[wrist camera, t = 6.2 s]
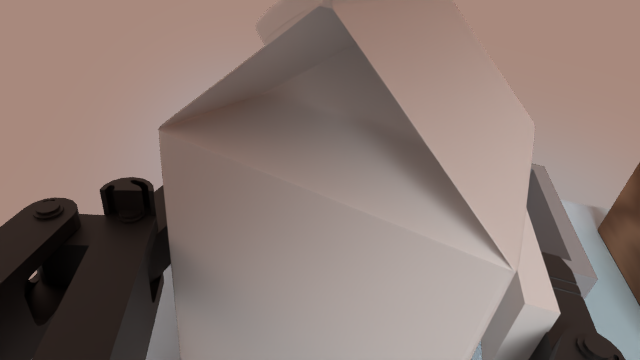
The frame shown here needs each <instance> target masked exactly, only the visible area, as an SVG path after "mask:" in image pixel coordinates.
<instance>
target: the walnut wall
mask: <svg viewBox="0 0 640 360" xmlns="http://www.w3.org/2000/svg"><path fill="white" fill-rule="evenodd" d="M598 232H599V233H600V235H601V237H602V239H603V241H604V242H605V244H606V246H607V248H608V250H609V251H610V253H611V255H612V257H613V258H614V260H615V262H616V264H617V266H618V267H619V269H620V271H621V273H622V274H623V276H624V278H625V280H626V282H627V283H628V285H629V287H630V289H631V290H632V292H633V294H634V296H635V298H636V299H637V301H638V303H639V305H640V163H639V165H638V166H637V167H636V169H635V171H634V172H633V174H632V176H631V177H630V179H629V180H628V182H627V183H626V185H625V187H624V188H623V190H622V191H621V193H620V195H619V196H618V198H617V199H616V201H615V203H614V204H613V206H612V208H611V209H610V211H609V212H608V214H607V215H606V217H605V219H604V220H603V222H602V223H601V225H600V227H599V228H598Z"/></svg>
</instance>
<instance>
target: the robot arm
mask: <svg viewBox="0 0 640 360" xmlns="http://www.w3.org/2000/svg"><path fill="white" fill-rule="evenodd" d="M100 194H101V199H102V204H103V209H104V214H105V215H88V214H79V212H78V209H77V204H76V203H75V202H73V201H72V200H69V199H66V198H50V199H43V200H41V201H37V202H35V203H32V204H31V205H29V206H27V207H26V208H24V209H23V210H21V211H20V212H19V213H18V214H16V215H15V216H14V217H13V218H11V219H10V220H9V221H7V222H6V223H5V224H4V225H3V226H1V227H0V360H31V359H32V360H145V359H146V355H147V351H148V347H149V343H150V338H151V334H152V330H153V326H154V322H155V317H156V313H157V309H158V305H159V301H160V297H161V292H162V288H163V284H164V276H163V272H164V271H165V269H166V268H167V267H168V266H169V265H170V264H171V258H170V248H169V238H168V227H167V217H166V207H165V197H164V187H163V186H161V187H160V188H159V189H158V190H156V191H155V192H154V189H153V185H152V184H151V183H150V182H149V181H147V180H145V179H141V178H134V177H130V178H121V179H117V180H113V181H111V182H109V183H107V184H105V185H104V186H103V187H102V188H101V189H100ZM36 270H37V274H36V275H35V276H34V277H33V278H32V279H30V280H28V279H29V278H30V276H31V275H32V274H33V273H34V272H35V271H36ZM481 350H482V360H625V358H624V357H623V355H622V353H621V352H620V351H619V350H618V349H617V348H616V347H615V346H614V345H613V344H612V343H611V342H610V341H609V340H607V339H606V338H604V337H603V336H601V335H600V334H598V333H597V331H596V329H595V326H594V324H593V321H592V319H591V316H590V314H589V311H588V309H587V306H586V304H585V301H584V299H583V297H582V296H581V292H580V289H579V287H578V285H577V282H576V279H575V277H574V274H573V272H572V270H571V268H570V267H569V266H568V265H567V264H566V263H565V262H564V261H563V260H562V258H561V257H560V256H556V255H553V254H549V253H545V252H541V251H540V248H539V245H538V242H537V239H536V236H535V232H534V229H533V226H532V223H531V220H530V217H529V214H528V211H527V208H526V213H525V222H524V230H523V239H522V247H521V254H520V261H519V265H518V269H517V271H516V273H515V275H514V277H513V279H512V281H511V283H510V285H509V287H508V289H507V291H506V292H505V294H504V296H503V298H502V300H501V302H500V304H499V306H498V308H497V310H496V312H495V314H494V316H493V317H492V319H491V321H490V323H489V325H488V327H487V329H486V331H485V333H484V335H483V337H482V339H481Z"/></svg>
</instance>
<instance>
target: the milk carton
mask: <svg viewBox="0 0 640 360" xmlns="http://www.w3.org/2000/svg"><path fill="white" fill-rule="evenodd" d="M256 30H257V32H258V34H259V36H260V38H261V39H262V41H263V43H264V45H265V46H264V47H263V48H261V49H260V50H259V51H258V52H256V53H255V54H254V55H252V56H251V57H250V58H248V59H247V60H246V61H244V62H243V63H242V64H241V65H239V66H238V67H237V68H235V69H234V70H233V71H232V72H230V73H229V74H227V75H226V76H225V77H224V78H223V79H221V80H220V81H218V82H217V83H216V84H214V85H213V86H212V87H210V88H209V89H208V90H206V91H205V92H204V93H203V94H201V95H200V96H199V97H197V98H196V99H195V100H193V101H192V102H191V103H189V104H188V105H187V106H185V107H184V108H183V109H182V110H180V111H179V112H178V113H176V114H175V115H174V116H173V117H171V118H170V119H169V120H167V121H166V122H165V123H164V124H162V126H160V128H159V129H158V130H159V141H160V154H161V166H162V176H163V187H164V197H165V207H166V217H167V227H168V238H169V248H170V258H171V268H172V278H173V288H174V298H175V308H176V318H177V328H178V338H179V348H180V358H181V360H471V358H472V356H473V354H474V352H475V350H476V348H477V346H478V344H479V342H480V340H481V339H482V337H483V335H484V333H485V331H486V329H487V327H488V325H489V323H490V321H491V319H492V317H493V316H494V314H495V312H496V310H497V308H498V306H499V304H500V302H501V300H502V298H503V296H504V294H505V292H506V291H507V289H508V287H509V285H510V283H511V281H512V279H513V277H514V275H515V273H516V271H517V269H518V265H519V261H520V254H521V247H522V239H523V230H524V222H525V213H526V205H527V196H528V188H529V179H530V171H531V162H532V153H533V145H534V136H535V124H534V122H533V120H532V119H531V117H530V116H529V114H528V113H527V112H526V110H525V108H524V107H523V105H522V104H521V102H520V101H519V99H518V98H517V96H516V95H515V93H514V92H513V90H512V89H511V87H510V86H509V84H508V83H507V81H506V80H505V78H504V77H503V75H502V74H501V72H500V71H499V69H498V68H497V66H496V65H495V63H494V62H493V60H492V59H491V57H490V56H489V54H488V53H487V51H486V49H485V48H484V46H483V45H482V44H481V42H480V40H479V39H478V38H477V36H476V35H475V33H474V31H473V30H472V28H471V27H470V26H469V24H468V22H467V21H466V20H465V18H464V17H463V15H462V13H461V12H460V10H459V9H458V7H457V6H456V4H455V3H454V1H453V0H279V1H278V2H276V3H275V4H274V5H273V6H272V7H270V8H269V9H268V10H267V11H266V12H265V13H264V14H263V15H262V16H261V17H260V18H259V20H258V21H257V23H256Z"/></svg>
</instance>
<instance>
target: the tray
mask: <svg viewBox="0 0 640 360" xmlns="http://www.w3.org/2000/svg"><path fill="white" fill-rule="evenodd" d="M526 208H527V211H528V214H529V217H530V220H531V223H532V226H533V229H534V232H535V236H536V239H537V242H538V245H539V248H540V251H541V252H545V253H549V254H553V255H556V256H560V257H561V258H562V260H563V261H564V262H565V263H566V264H567V265H568V266H569V267H570V268H571V270H572V272H573V274H574V277H575V279H576V282H577V285H578V287H579V289H580V292H581V296H582V297H583V299H585V297H586V296H587V294H588V293H589V292H590V290H591V289H592V287H593V286H594V284H595V283H596V281H597V280H598V278H597V276H596V274H595V272H594V270H593V268H592V266H591V264H590V262H589V259H588V257H587V255H586V253H585V251H584V249H583V247H582V245H581V243H580V241H579V238H578V236H577V234H576V232H575V230H574V228H573V226H572V224H571V222H570V220H569V218H568V215H567V213H566V211H565V209H564V207H563V205H562V203H561V201H560V199H559V197H558V194H557V192H556V190H555V188H554V186H553V184H552V182H551V180H550V178H549V176H548V173H547V171H546V169H545V167H544V166H540V165H536V164H531V171H530V179H529V188H528V196H527V205H526Z"/></svg>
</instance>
